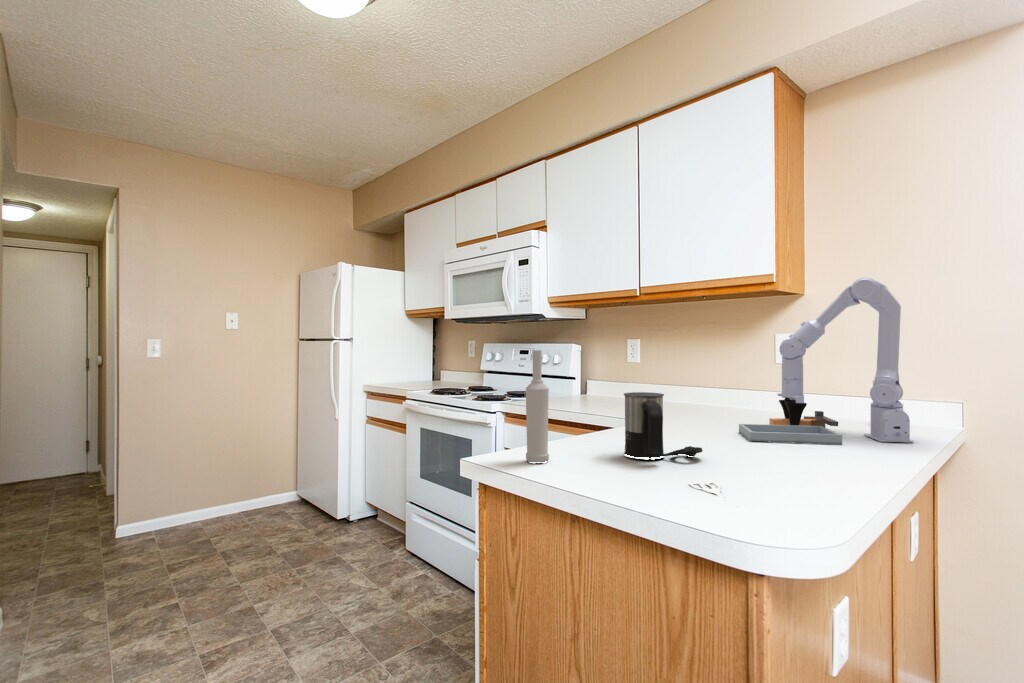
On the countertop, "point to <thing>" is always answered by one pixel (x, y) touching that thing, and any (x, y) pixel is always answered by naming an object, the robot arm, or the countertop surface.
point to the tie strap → (825, 419)
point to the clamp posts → (815, 421)
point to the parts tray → (789, 433)
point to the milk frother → (647, 426)
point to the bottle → (537, 414)
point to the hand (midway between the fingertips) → (792, 424)
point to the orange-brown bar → (787, 422)
